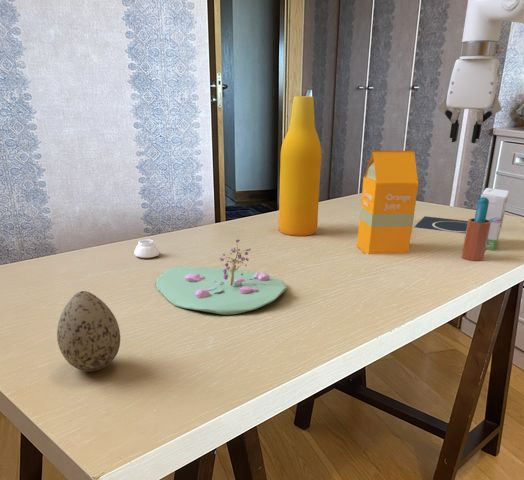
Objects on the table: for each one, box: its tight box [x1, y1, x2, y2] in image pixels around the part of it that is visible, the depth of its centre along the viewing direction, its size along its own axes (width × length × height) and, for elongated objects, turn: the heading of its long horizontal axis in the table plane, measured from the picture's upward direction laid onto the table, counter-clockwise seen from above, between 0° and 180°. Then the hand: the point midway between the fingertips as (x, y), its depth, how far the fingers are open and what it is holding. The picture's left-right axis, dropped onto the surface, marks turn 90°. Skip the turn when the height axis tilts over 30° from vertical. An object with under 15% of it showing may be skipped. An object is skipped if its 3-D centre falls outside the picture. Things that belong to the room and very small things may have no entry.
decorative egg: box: [56, 290, 121, 372], centre depth 63 cm, size 7×7×10 cm
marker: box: [474, 197, 489, 223], centre depth 104 cm, size 2×2×12 cm
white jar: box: [133, 238, 161, 259], centre depth 106 cm, size 5×3×5 cm
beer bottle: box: [277, 95, 323, 237], centre depth 119 cm, size 9×9×29 cm
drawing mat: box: [414, 215, 468, 235], centre depth 131 cm, size 18×16×1 cm
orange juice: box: [356, 150, 419, 255], centre depth 108 cm, size 8×9×20 cm
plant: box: [155, 239, 288, 316], centre depth 88 cm, size 25×21×9 cm
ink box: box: [480, 187, 510, 252], centre depth 114 cm, size 8×5×12 cm, turn 154°
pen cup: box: [461, 217, 491, 262], centre depth 105 cm, size 4×4×8 cm
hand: (463, 141), depth 123 cm, fingers open, 3 cm apart
